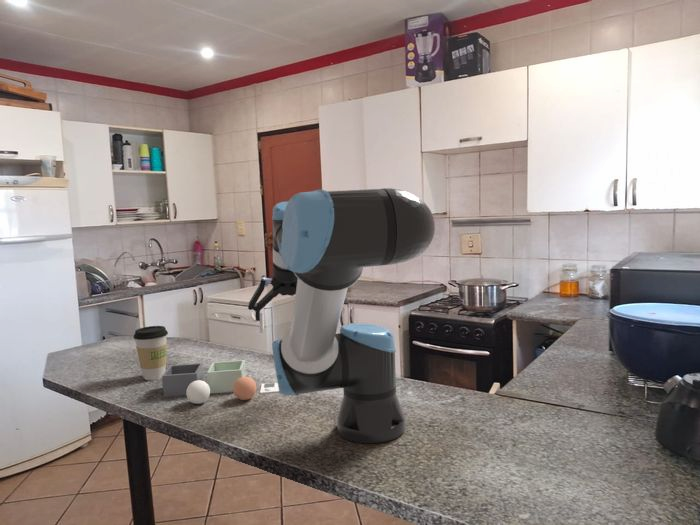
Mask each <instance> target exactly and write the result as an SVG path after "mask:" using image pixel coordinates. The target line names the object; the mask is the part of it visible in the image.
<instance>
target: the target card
mask: <svg viewBox="0 0 700 525" xmlns="http://www.w3.org/2000/svg"><path fill="white" fill-rule="evenodd" d="M278 392H279V393H280V391H279V387H278V382H268V383H261V386H260V391H259V394H268V393H269V394H270V393H278Z"/></svg>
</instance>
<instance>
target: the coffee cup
mask: <svg viewBox="0 0 700 525" xmlns="http://www.w3.org/2000/svg"><path fill="white" fill-rule="evenodd" d="M134 331H135V332H134V334H133V339H134V340H135V343H136V346H135V347H136V351H137V356H138V361H139V365H140V369H141V372H142V378H143V380H144V379H145V380H146V381H157V380H161V379H162V375H163V374H164V373H165V372H166V370H167V368H166V367H167V366H166V365H167V352H168V350H167V347H168V346H167V345H168V342H167V336H168V334H169V333H168V332H169V331H168V330H167V329H166V326H163V325H152V326H144V327H140V328H138V329H136V330H134ZM160 378H161V379H160ZM145 380H144V381H145Z"/></svg>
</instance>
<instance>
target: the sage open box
mask: <svg viewBox="0 0 700 525" xmlns="http://www.w3.org/2000/svg"><path fill="white" fill-rule="evenodd" d="M206 374H207V376H206V377H207V384H208V385H209V387H210V394H220V393H221V394H222V393H234V391H233V387H234V384H235V382H236V381H237V380H238V379H239V378H241V377H247V374H246V360H245V359H240V360H227V361H215V362H214V361H213V362H212V363H211V365H210V366H209V369H208V370H207V372H206Z"/></svg>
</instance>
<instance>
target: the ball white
mask: <svg viewBox="0 0 700 525" xmlns="http://www.w3.org/2000/svg"><path fill="white" fill-rule="evenodd" d="M186 395H187V396H186V398H187V400H188V402H190V403H192V404H196V405H201V404H204V403H205V402H206V401H207V400H208V399H209V398H210V387H209V385H208V382H206V381H205V380H204V381H201V380H197V381H194V382H192V383H191V384H190V385H189V386H188V388H187V391H186Z"/></svg>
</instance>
